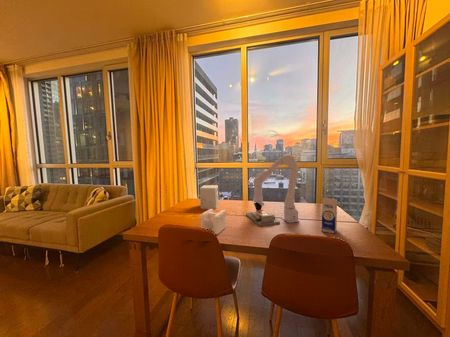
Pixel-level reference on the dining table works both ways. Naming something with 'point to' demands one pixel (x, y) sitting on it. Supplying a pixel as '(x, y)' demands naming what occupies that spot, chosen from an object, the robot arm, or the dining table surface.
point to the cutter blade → (260, 213)
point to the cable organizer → (213, 220)
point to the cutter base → (263, 219)
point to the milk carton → (329, 215)
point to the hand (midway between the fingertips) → (258, 213)
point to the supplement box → (209, 197)
